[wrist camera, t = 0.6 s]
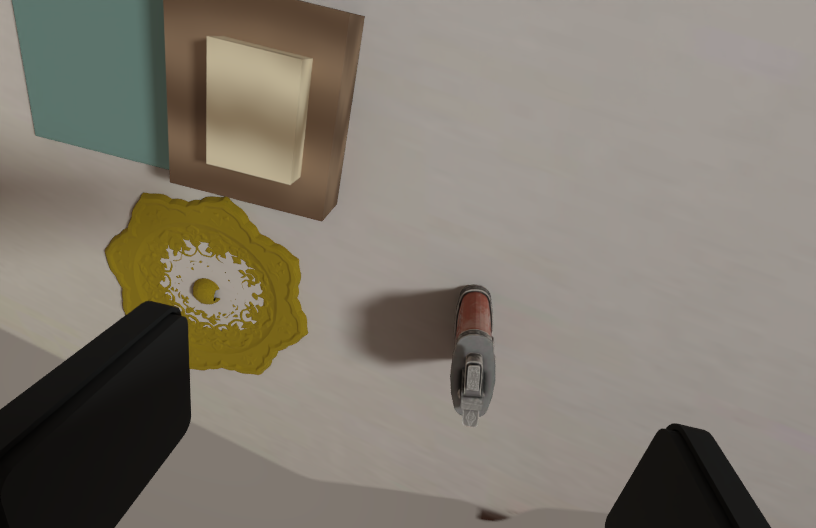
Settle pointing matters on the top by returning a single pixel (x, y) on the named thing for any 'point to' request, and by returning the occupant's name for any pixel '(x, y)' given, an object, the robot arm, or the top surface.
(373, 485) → the top surface
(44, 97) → the mat
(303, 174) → the brown flat block
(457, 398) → the lighter
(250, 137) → the tile
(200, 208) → the decorative medallion
